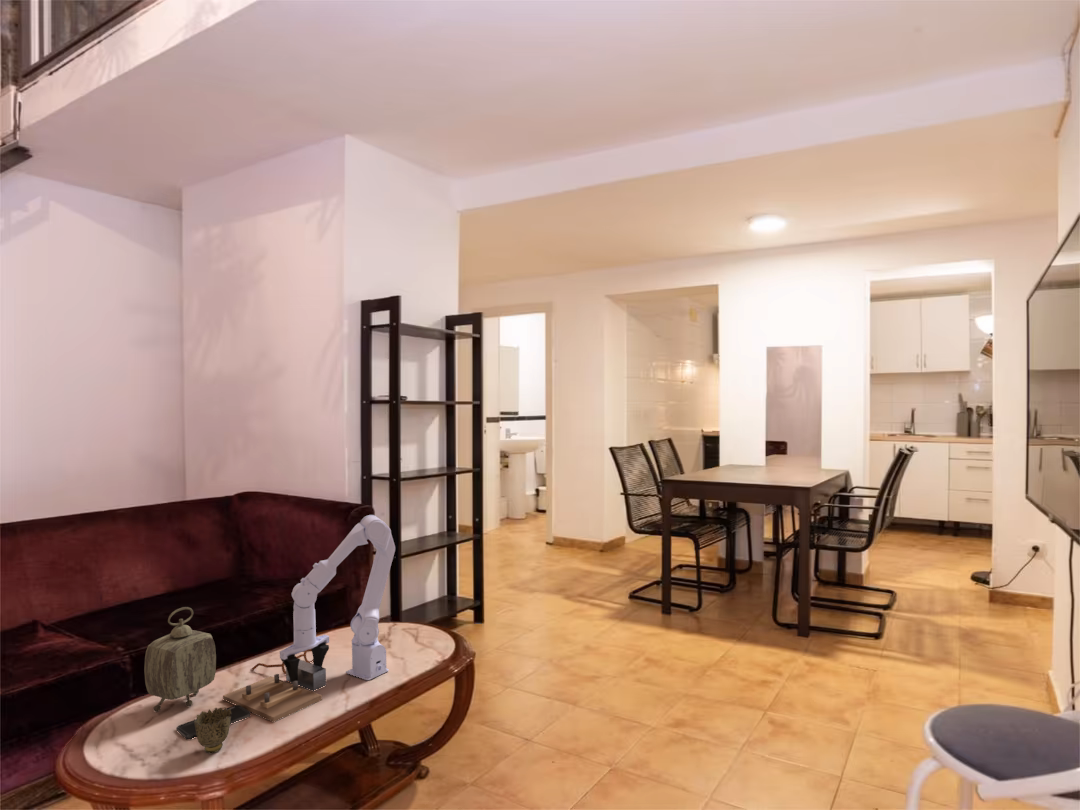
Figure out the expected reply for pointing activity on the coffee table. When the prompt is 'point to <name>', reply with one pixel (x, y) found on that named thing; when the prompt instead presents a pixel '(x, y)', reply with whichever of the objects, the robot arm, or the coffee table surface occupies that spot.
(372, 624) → the robot arm
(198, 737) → the cup
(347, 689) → the coffee table surface
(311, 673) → the metal bar
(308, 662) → the glasses
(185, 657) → the tabletop clock
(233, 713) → the phone
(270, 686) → the peg rack
